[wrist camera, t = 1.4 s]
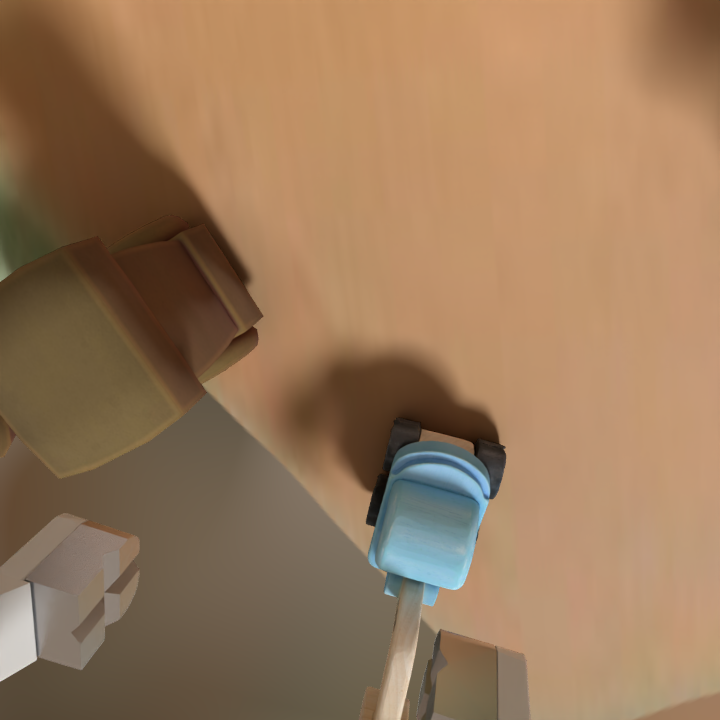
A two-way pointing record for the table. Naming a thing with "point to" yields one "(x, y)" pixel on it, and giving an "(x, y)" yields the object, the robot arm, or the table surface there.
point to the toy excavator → (424, 537)
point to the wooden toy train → (116, 341)
